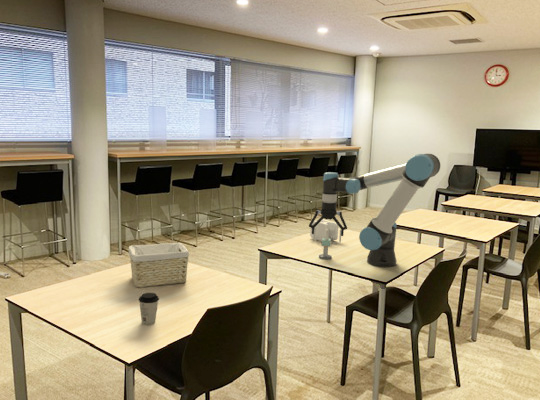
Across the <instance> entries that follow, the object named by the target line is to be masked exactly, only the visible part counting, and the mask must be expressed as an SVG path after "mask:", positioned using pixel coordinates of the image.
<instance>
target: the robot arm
mask: <svg viewBox="0 0 540 400" xmlns="http://www.w3.org/2000/svg"><path fill="white" fill-rule="evenodd" d="M440 170H441V162H440V159H439V158H438V157H437V156H436V155H435V154H433V153H418V154H415V155H413V156H411V157H410V158H409V159H408V160H407V162H406V163H403V164H399V165H395V166H392V167H391V166H390V167H388V168H384V169H380V170H376V171H372V172H369V173H365V174H361V175H357V176H351V177H341V176H339V173H338V172H333V171H332V172H331V171H328V172H324V173H323V179H322V196H321V198H322V199H321V200H322V201H321V210H318V209H316V210H315V214H314V215H313V217H312V219H311V220H310V222H309V224H308V227H309V228H310V229H311V228H312V234H314V239H313V241H314V242H315V241H316V240H315V233H316V228H315V227H316V226H317V225H318V224H319V222H320V221H321V220H323V219H324V220H329V221H332V220H333V222H335V223H337V225H338V228H339V237H338V239H339V240H338V243H341V242H342V237H344V231H345V230H348V226H347V223H346V222H345V220H344V216H343V211H342V210H339V211H337V200H338V198H337V197H338V192H339V193H344V194H345V193H347V194H350V195H351V194H358V193H359V192H360V191H363V190H366V189H370V188H374V187H378V186H379V187H380V186H383V185H386V184H387V185H388V184H390V183H395V182H399V181H400V182H399V183H398V185H397V187H395V190H394V191H393V192H392V194H391V195H390V197H389V199H388V200H387V202H386V203H385V204H384V206H383V207H382V209H381V211H380V212H379V213H378V215H377V217H373V218H372V219H371V220H370V221H369V223H368V224H367V226H366V227H364V228H363V229H362V230H361V231H360V233H359V238H358V240H359V243H360V244H361V246H362V247H363V248H364V249H365V250H367V251H369V252H368V255H367V257H366V258H367V259H366V262H367V263H368V264H370V265H373V266H376V267H382V268H390V267H395V266H396V265H397V258H396V254H395V246H396V245H395V244H396V237H397V236H396V235H397V220H398V219H399V218H400V216H401V214H402V213H403V212H404V210H405V208H407V206H408V204H409V203H410V202H411V200H412V199H413V197H414V195H416V193H417V192H418V190H419V189H423V188H424V187H425V186H426V185H427V182H429V180H430V178H431V179H432V178H433V177H436V175H437V174H438V173H439V172H440ZM320 214H321V216H320V217H319V218H318V220H316V219H317V216H318V215H320ZM336 215H337V216H338V217H339V218H340V221H341V223H342V224H341V223H340V221H339V220H338V219H337V217H336ZM314 221H317V222H316V223H315V224H314V225H312V224H313V222H314Z"/></svg>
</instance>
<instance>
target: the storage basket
mask: <svg viewBox="0 0 540 400" xmlns="http://www.w3.org/2000/svg"><path fill="white" fill-rule="evenodd" d="M128 255H129V259H130V269H131V278H132V281H133V283H134V286H135V287H136V288H145V287H156V286H163V285H164V286H165V285H166V286H167V285H172V284H173V285H175V284H182V283H183V284H184V283H186V282H187V275H188V263H189V256H190V252H189V250H188V249H187V247H186V246H185V245H184V244H183V243H181V242H169V243H167V242H166V243H156V244H154V243H153V244H137V245H136V244H135V245H134V244H133V245H132V244H131V245H129V246H128Z"/></svg>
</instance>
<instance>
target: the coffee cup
mask: <svg viewBox="0 0 540 400" xmlns="http://www.w3.org/2000/svg"><path fill="white" fill-rule="evenodd" d="M159 300H160V298H159V296H158V295H157V293H155V292H144V293H142V294H141V295H140V296H139V297H138V302H139V310H140V318H141V324H143V325H144V326H145V325H146V326H149V325H154V324H155V323H156V319H157V313H158V312H157V311H158V304H159Z"/></svg>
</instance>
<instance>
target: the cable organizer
mask: <svg viewBox="0 0 540 400" xmlns="http://www.w3.org/2000/svg"><path fill="white" fill-rule="evenodd" d="M317 221H318V220H314V222H313V224H312V225H314V224H315V223H316V222H317ZM315 228H316V233H315V241H319V242H321V243H322V238H325V233H326V229H328V230H329V233H328V239H331V241H332V242H333V241H337V240H338V239H339V237H338V236H339V226H338V225H337V223H336V222H335V221H332V220H329V219H323V220H321V221H320V222H319V224H318V225H317V226H316V227H315ZM309 233H310V238H311V239H312V240H314V234H312V228H311V227H310V232H309Z"/></svg>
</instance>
